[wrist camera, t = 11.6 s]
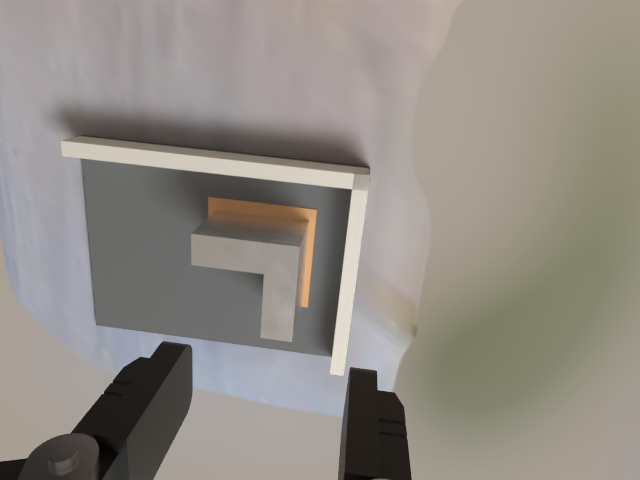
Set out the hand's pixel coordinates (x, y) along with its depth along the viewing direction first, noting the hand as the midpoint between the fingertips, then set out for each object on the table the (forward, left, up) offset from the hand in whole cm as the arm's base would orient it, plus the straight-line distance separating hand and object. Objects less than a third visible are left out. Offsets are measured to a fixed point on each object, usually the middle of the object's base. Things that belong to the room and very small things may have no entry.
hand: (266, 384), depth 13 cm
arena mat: (-3, -12, -27) cm, 30 cm away
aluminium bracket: (0, -10, -27) cm, 29 cm away
